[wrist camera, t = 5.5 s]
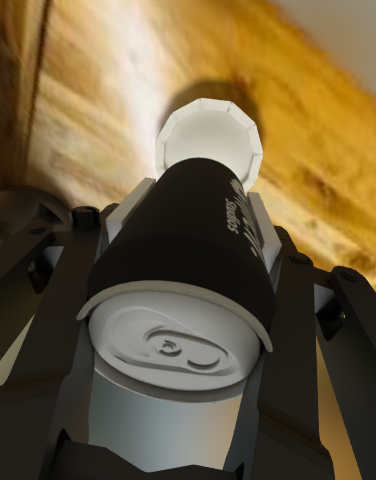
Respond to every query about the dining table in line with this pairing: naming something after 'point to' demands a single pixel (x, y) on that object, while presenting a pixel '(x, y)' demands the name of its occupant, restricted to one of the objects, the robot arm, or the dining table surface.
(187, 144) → the saucer
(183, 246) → the beverage can
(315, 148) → the dining table surface
